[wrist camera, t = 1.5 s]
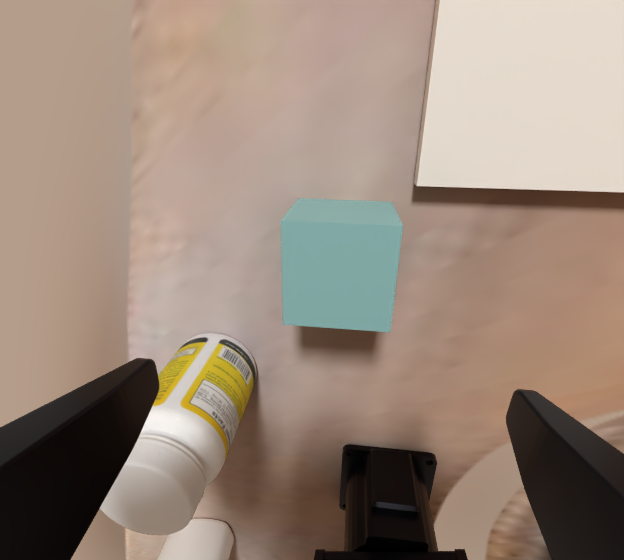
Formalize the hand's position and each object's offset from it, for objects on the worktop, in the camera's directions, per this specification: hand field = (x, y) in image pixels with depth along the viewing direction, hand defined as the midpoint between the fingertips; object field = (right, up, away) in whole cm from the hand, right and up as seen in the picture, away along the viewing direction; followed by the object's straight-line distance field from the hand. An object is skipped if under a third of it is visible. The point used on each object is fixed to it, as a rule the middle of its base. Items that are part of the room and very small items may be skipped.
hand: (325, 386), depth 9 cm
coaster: (+10, +12, +7) cm, 18 cm away
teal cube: (+1, +5, +11) cm, 12 cm away
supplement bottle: (-7, -3, +16) cm, 17 cm away
